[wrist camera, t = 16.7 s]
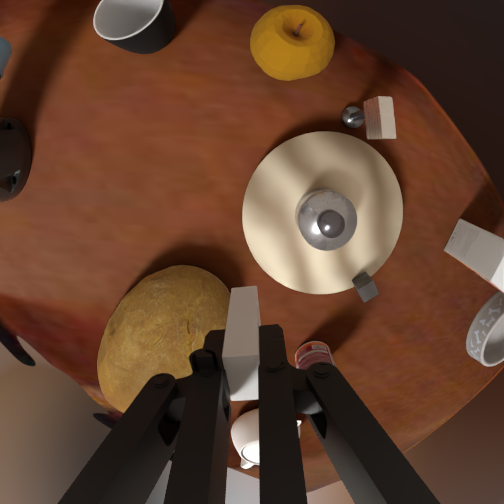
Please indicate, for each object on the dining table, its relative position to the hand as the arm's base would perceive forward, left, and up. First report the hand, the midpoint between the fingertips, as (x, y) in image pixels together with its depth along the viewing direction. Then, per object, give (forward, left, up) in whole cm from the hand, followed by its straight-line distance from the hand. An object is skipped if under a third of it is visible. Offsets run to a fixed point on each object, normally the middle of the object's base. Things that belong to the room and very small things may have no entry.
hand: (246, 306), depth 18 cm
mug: (-12, +30, -24) cm, 40 cm away
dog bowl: (+51, -27, -25) cm, 63 cm away
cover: (+9, 0, -21) cm, 23 cm away
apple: (+7, +22, -24) cm, 34 cm away
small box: (+36, -7, -24) cm, 44 cm away
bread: (-18, -19, -25) cm, 36 cm away
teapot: (-1, -41, -24) cm, 48 cm away
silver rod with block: (+15, +13, -24) cm, 31 cm away
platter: (+10, -1, -22) cm, 25 cm away
